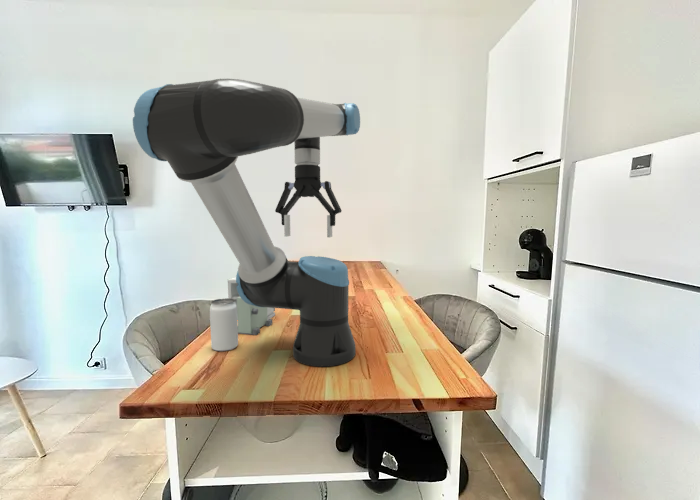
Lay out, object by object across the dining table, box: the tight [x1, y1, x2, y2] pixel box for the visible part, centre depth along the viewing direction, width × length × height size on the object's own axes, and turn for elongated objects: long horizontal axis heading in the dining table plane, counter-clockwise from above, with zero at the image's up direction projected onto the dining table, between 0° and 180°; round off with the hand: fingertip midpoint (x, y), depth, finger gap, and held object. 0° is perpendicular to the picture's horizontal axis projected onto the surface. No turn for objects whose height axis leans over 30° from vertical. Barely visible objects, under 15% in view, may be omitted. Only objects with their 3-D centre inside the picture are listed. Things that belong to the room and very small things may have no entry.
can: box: [209, 297, 239, 352], centre depth 89 cm, size 6×6×12 cm
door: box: [237, 297, 267, 335], centre depth 103 cm, size 10×5×10 cm, turn 166°
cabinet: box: [227, 276, 276, 336], centre depth 108 cm, size 18×15×13 cm
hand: (308, 236), depth 107 cm, fingers open, 13 cm apart
